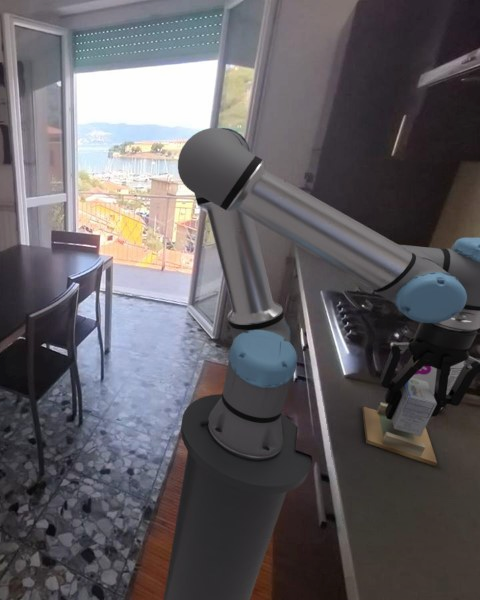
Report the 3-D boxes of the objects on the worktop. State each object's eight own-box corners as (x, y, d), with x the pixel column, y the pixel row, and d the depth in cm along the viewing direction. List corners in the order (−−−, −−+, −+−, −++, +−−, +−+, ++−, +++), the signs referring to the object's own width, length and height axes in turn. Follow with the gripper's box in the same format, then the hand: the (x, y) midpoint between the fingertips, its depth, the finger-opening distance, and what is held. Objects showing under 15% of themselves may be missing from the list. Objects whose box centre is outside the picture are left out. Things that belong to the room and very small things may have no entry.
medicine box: (420, 437, 71) (438, 403, 67) (392, 428, 73) (408, 395, 70) (412, 413, 77) (429, 381, 73) (387, 406, 79) (401, 374, 76)
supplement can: (405, 410, 84) (430, 357, 78) (390, 388, 91) (412, 338, 85) (447, 417, 82) (478, 363, 75) (429, 395, 89) (455, 344, 82)
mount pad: (366, 443, 75) (371, 430, 74) (362, 409, 84) (367, 398, 83) (435, 466, 70) (442, 453, 68) (423, 427, 79) (429, 415, 77)
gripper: (391, 319, 67) (353, 415, 77) (528, 345, 58) (465, 449, 68) (387, 304, 73) (352, 395, 82) (510, 326, 64) (455, 424, 74)
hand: (403, 419), depth 75 cm, fingers closed on medicine box, 4 cm apart
